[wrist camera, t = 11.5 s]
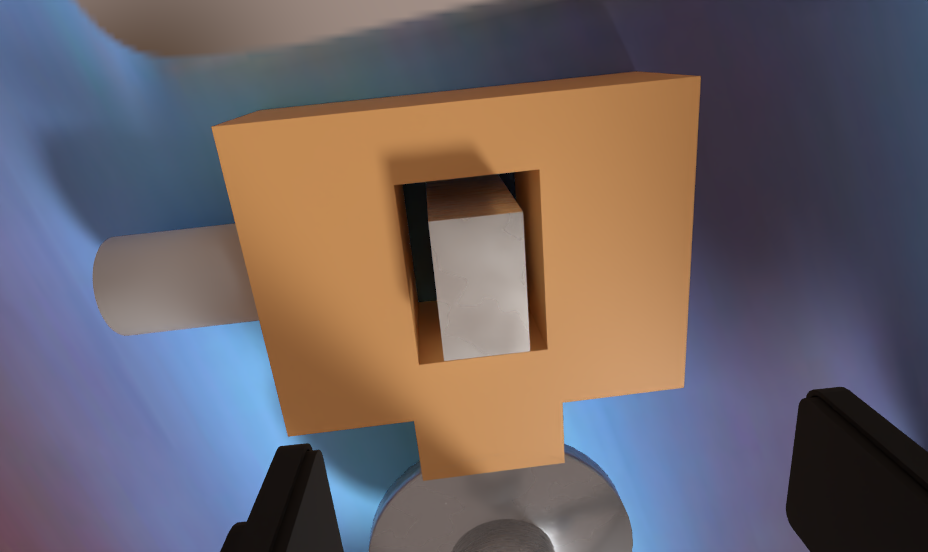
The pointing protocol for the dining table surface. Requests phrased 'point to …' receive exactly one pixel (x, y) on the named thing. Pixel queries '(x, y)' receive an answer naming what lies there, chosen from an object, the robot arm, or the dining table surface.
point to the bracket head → (392, 270)
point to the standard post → (505, 511)
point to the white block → (478, 267)
